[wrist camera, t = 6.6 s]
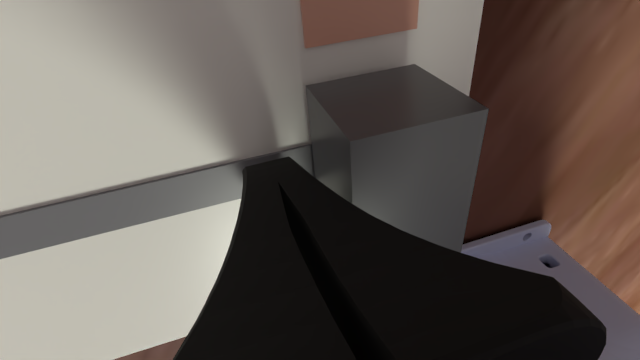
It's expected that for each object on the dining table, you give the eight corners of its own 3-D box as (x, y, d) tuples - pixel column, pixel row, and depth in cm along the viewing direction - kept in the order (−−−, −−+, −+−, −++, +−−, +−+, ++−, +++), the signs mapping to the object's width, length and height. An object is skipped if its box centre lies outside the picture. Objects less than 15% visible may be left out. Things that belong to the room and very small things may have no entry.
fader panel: (451, -106, 10) (504, -109, 9) (419, 224, 17) (445, 256, 16) (-621, 4, 6) (-899, 35, 5) (-99, 376, 13) (-136, 441, 12)
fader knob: (414, 63, 10) (488, 109, 8) (405, 208, 13) (456, 273, 11) (305, 85, 10) (349, 141, 7) (321, 232, 12) (356, 306, 10)
